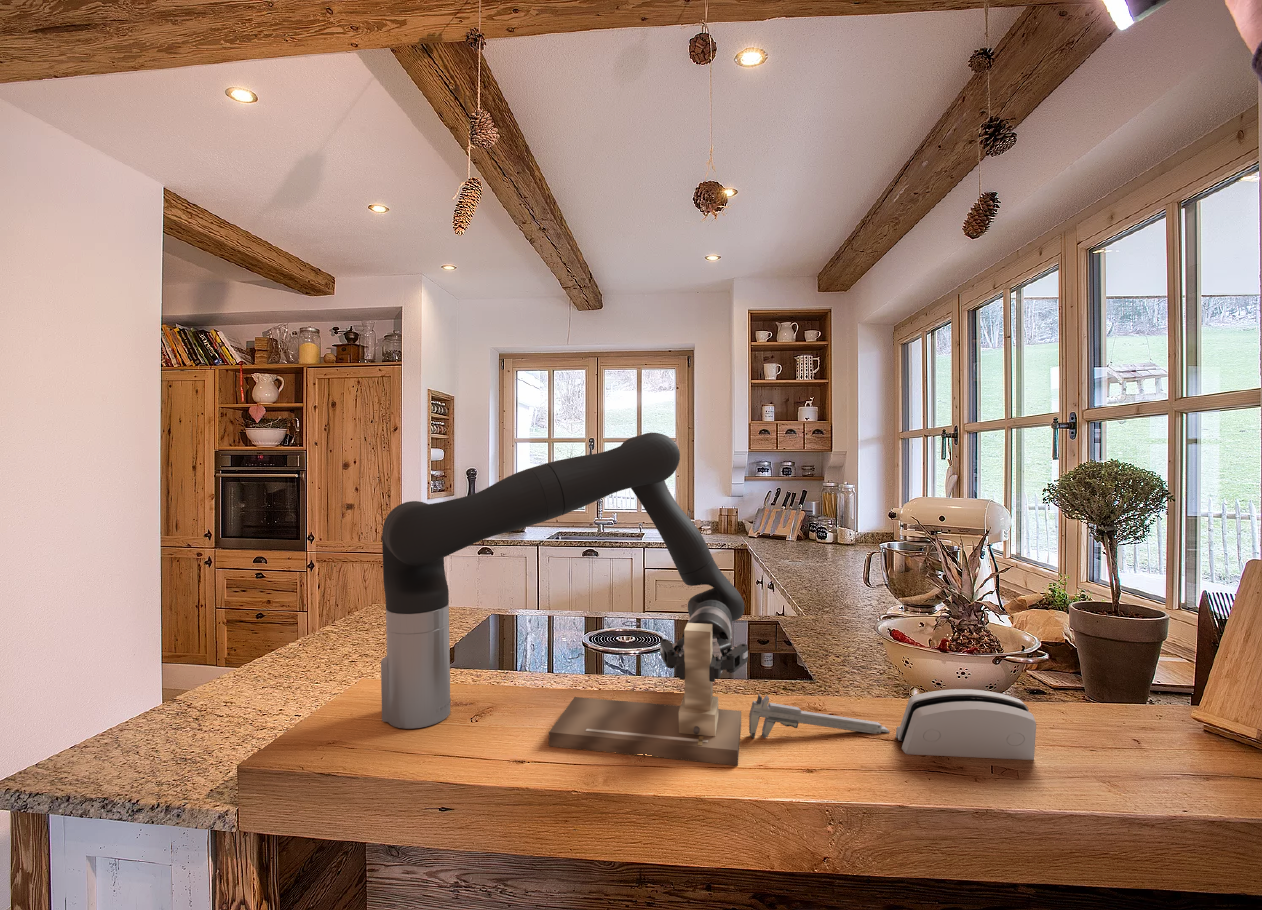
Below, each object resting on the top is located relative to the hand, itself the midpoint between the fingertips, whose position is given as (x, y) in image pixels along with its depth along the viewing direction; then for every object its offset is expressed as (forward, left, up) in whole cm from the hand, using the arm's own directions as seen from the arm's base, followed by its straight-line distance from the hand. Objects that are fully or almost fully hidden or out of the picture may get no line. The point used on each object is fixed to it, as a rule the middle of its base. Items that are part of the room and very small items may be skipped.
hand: (696, 673), depth 85 cm
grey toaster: (+36, +6, -11) cm, 38 cm away
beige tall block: (0, +3, -8) cm, 9 cm away
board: (-7, +3, -10) cm, 13 cm away
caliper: (+17, +8, -11) cm, 22 cm away
